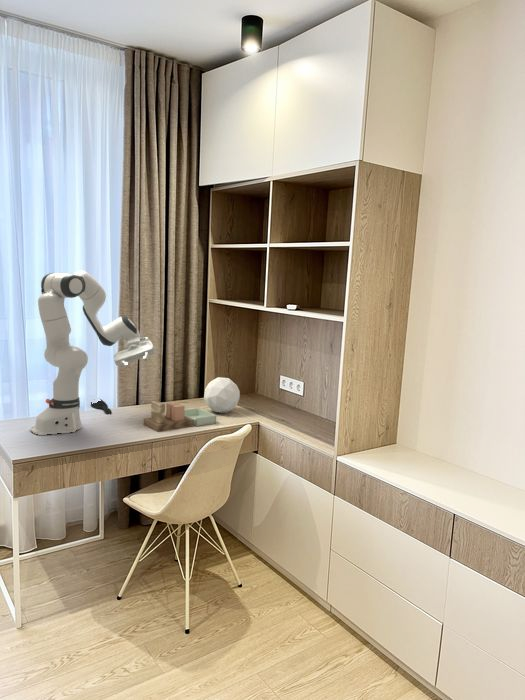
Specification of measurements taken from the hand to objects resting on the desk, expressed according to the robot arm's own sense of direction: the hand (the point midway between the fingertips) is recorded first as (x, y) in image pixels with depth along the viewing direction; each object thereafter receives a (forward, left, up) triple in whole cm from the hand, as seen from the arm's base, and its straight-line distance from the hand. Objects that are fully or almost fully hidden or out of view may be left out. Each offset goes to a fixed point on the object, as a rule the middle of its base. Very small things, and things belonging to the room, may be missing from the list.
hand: (136, 362), depth 259 cm
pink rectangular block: (+16, -8, -27) cm, 32 cm away
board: (+12, -11, -30) cm, 34 cm away
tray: (+29, -11, -30) cm, 43 cm away
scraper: (+6, -11, -27) cm, 30 cm away
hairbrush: (-2, +34, -31) cm, 46 cm away
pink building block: (+16, -13, -27) cm, 34 cm away
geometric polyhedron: (+49, -3, -30) cm, 58 cm away
